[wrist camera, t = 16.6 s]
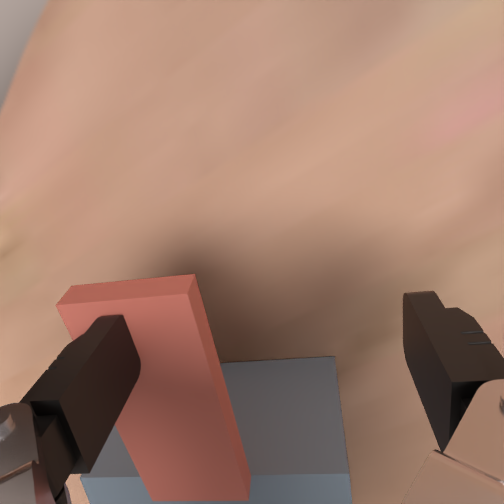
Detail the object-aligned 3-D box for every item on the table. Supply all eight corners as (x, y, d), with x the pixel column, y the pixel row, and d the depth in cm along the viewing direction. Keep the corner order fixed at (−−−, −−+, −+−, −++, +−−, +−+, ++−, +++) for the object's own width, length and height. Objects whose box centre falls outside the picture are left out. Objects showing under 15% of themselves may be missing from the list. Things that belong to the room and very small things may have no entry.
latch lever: (251, 476, 17) (248, 500, 16) (159, 477, 18) (152, 501, 17) (194, 273, 12) (187, 293, 11) (71, 285, 13) (55, 305, 12)
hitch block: (348, 502, 28) (365, 648, 21) (182, 503, 30) (143, 637, 23) (334, 356, 24) (349, 473, 17) (143, 367, 26) (79, 477, 19)
